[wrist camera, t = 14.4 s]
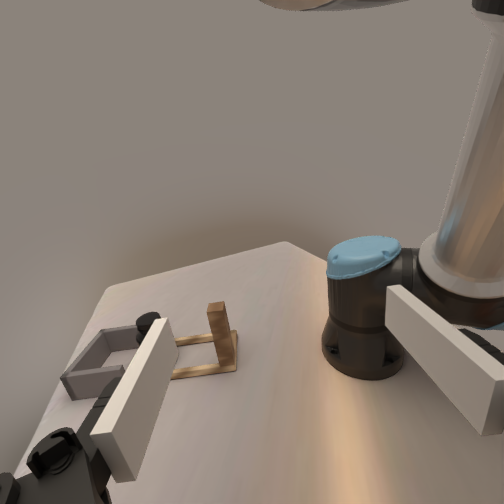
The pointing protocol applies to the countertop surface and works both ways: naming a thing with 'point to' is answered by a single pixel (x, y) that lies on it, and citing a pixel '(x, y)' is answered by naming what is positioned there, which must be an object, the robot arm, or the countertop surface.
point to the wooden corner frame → (222, 340)
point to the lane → (98, 363)
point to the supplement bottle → (145, 325)
